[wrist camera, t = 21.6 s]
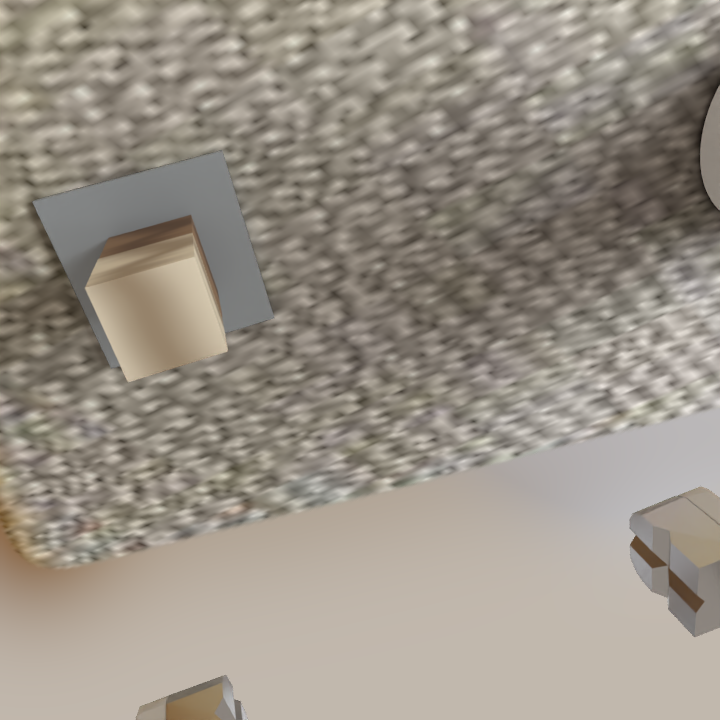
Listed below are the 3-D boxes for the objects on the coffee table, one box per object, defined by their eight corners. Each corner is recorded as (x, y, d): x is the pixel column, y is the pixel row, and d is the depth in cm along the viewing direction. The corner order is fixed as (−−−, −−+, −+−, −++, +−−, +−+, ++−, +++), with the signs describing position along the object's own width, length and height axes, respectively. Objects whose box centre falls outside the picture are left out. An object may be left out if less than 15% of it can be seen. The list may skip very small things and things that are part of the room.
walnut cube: (190, 214, 36) (192, 233, 32) (217, 290, 39) (222, 317, 34) (108, 237, 36) (98, 259, 31) (140, 313, 38) (135, 343, 34)
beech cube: (192, 232, 32) (194, 256, 28) (222, 316, 34) (228, 351, 30) (97, 259, 31) (84, 287, 27) (134, 343, 34) (127, 382, 29)
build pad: (221, 150, 36) (222, 151, 35) (273, 314, 41) (274, 318, 40) (34, 200, 34) (32, 201, 34) (112, 364, 39) (111, 368, 39)
